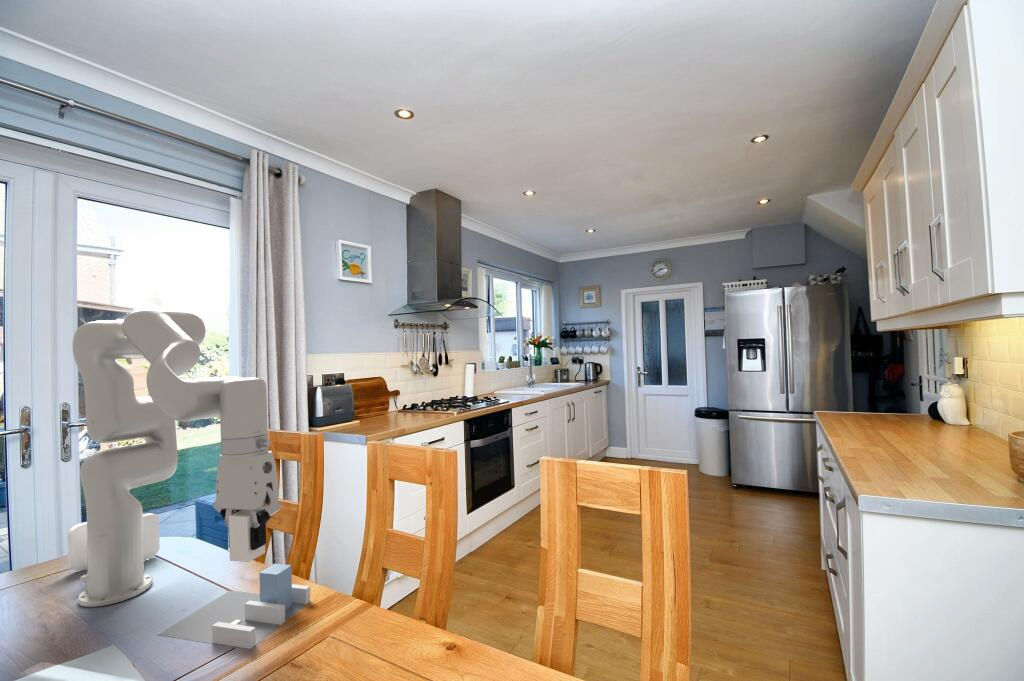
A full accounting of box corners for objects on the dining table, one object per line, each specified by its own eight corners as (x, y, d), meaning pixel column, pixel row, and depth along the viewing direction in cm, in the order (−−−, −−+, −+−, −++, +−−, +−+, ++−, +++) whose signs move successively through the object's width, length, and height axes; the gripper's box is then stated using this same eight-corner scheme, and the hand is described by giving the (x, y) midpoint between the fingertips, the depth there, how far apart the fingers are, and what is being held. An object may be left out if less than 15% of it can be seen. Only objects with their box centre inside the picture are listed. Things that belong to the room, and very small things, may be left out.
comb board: (157, 643, 86) (157, 618, 86) (230, 597, 102) (229, 576, 102) (249, 658, 81) (249, 631, 81) (311, 607, 97) (310, 585, 97)
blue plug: (260, 614, 92) (259, 572, 92) (275, 603, 96) (274, 563, 96) (277, 616, 91) (277, 574, 91) (292, 605, 95) (291, 565, 95)
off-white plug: (247, 551, 89) (246, 508, 89) (265, 552, 88) (264, 509, 88) (229, 560, 85) (228, 515, 85) (248, 562, 84) (247, 516, 84)
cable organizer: (88, 583, 110) (87, 532, 110) (66, 574, 114) (66, 525, 115) (160, 556, 123) (159, 511, 123) (138, 549, 128) (137, 506, 128)
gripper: (298, 442, 89) (301, 540, 88) (224, 441, 93) (227, 535, 92) (268, 450, 81) (271, 558, 81) (189, 449, 85) (192, 551, 85)
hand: (247, 545), depth 87 cm, fingers closed on off-white plug, 4 cm apart
